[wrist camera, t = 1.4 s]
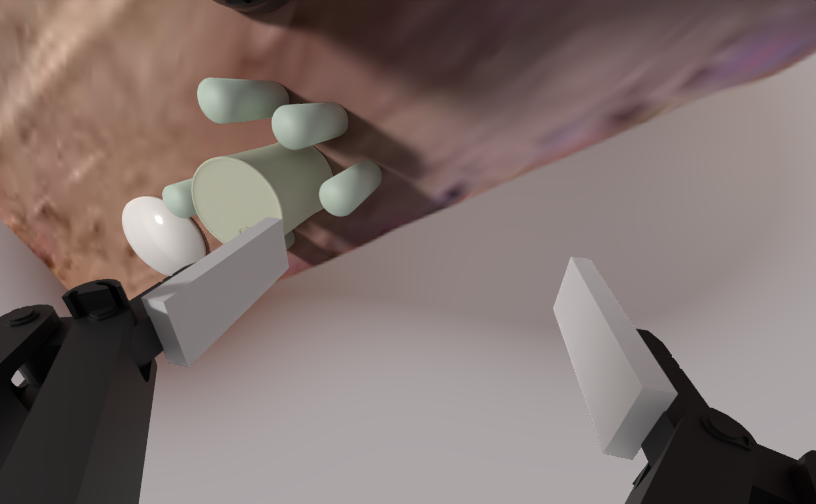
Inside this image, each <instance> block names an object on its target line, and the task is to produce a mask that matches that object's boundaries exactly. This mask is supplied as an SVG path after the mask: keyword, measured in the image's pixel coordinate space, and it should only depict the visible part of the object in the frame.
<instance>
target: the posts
mask: <svg viewBox="0 0 816 504" xmlns="http://www.w3.org/2000/svg"><path fill="white" fill-rule="evenodd" d="M197 96H198V102H199V105H200V107H201V109H202V111H203V112H204V114H205V115H206V116H207V117H208V118H209V119H210V120H212V121H214V122H216V123H219V124H226V123H234V122H242V121H251V120H259V119H267V118H272V129H273V132H274V135H275V137H276V138H277V140H278V141H279V142H280V143H281V144H282V145H283V146H285V147H286V148H289V149H292V150H298V149H302V148H305V147H308V146H311V145H314V144H317V143H321V142H324V141H327V140H330V139H333V138H336V137H339V136H342V135H343V134H344V133H345V132H346V130H347V128H348V123H349V122H348V116H347V113H346V111H345V110H344V108H343V107H342V106H341V105H339V104H337V103H334V102H325V103H309V104H293V105H290V100H289V96H288V93H287V91H286V90H285V88H284V87H283V86H282V85H281V84H279V83H277V82H274V81H259V80H242V79H224V78H206V79H204V80H203V81H202V82H201V83H200V85H199V87H198V92H197ZM192 181H193V178H192V179H189V180H185V181H182V182H178V183H175V184H172V185H169V186H166V187H165V188H164V190H163V193H162V197H163V201H164V203H165V205H166V207H167V208H168V210H169V211H170V212H171V213H172V214H174V215H175V216H177V217H179V218H183V219H186V218H190V217H192V216H194V215H197V212H196V209H195V207H194V204H193V200H192V192H191V188H192ZM381 181H382V172H381V170H380V168H379V166H378V165H377V164H376V163H374V162H373V161H370V160H362V161H360V162H358V163H356V164H354V165H353V166H351V167H349V168H347V169H346V170H344V171H342V172H341V173H339V174H337V175H335V176H334V177H332V178H330V179H329V180H327V181H325V182H324V183H323V184H322V186H321V188H320V191H319V197H320V201H321V204H322V205H323V207H324V208H325V209H326V210H327V211H328V212H329V213H331V214H332V215H335V216H346V215H349V214H350V213H351V212H352V211H353V210H355V209H356V208H357V207H358V206H359V205H360V204H361V203H362V202H363V201H364V200H365V199H366V198H367V197H368V196H369V195H370V194H371V193H372V192H373V191H375V190H376V189H377V188H378V187H379V185H380V184H381ZM284 238H285V245H286V250H287V249H289V248H290V247H291V246H292V245H293V244H294V242H295V235H294V232H293V231H292V230H291V231H290V232H289V233H287V234H286V235H285V236H284Z"/></svg>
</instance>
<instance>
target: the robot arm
mask: <svg viewBox="0 0 816 504" xmlns="http://www.w3.org/2000/svg"><path fill="white" fill-rule="evenodd" d="M213 1H215V2H217V3H219V4H221V5H224V6H226V7H229V8H232V9H235V10H238V11H241V12H245V13H253V14H256V13H266V12H270V11H273V10H275V9H277V8H279V7H281V6H283V5H284V4H285V3H287V2H288V1H289V0H213ZM288 268H289V266H288V259H287V252H286V245H285V238H284V232H283V225H282V219H279V218H271V217H266V218H264V219H263V220H261V221H260V222H258V223H257V224H255V225H254V226H252V227H250V228H249V229H247V230H246V231H244V232H243V233H241V234H239V235H238V236H236V237H235V238H233V239H232V240H230V241H229V242H227V243H225V244H224V245H222V246H221V247H219V248H218V249H216V250H215V251H213V252H211V253H210V254H208V255H207V256H205V257H204V258H202V259H201V260H199V261H197V262H195V263H192V264H190V265H187V266H185V267H183V268H181V269H179V270H178V271H176V272H175V273H173V274H172V276H168V277H167V278H165V279H163V280H162V282H159V283H157V284H156V285H154V286H152V287H151V288H149V289H148V290H146V291H144V292H143V293H141V294H140V295H138V296H136V297H135V298H133V299H132V300H130V301H129V300H128V298H127V296H126V294H125V292H124V289H123V287H122V285H121V283H120V282H119V281H117V280H114V279H103V280H96V281H92V282H88V283H84V284H82V285H79V286H77V287H75V288H73V289H71V290H69V291H68V292H66V293H65V294H64V295H63V297H62V299H63V300H64V302H65V304H66V306H67V307H68V309H69V311H70V313H71V314H72V316H73V317H61V318H60V317H59V316H58V315H57V313H56V311H55V310H54V308H53V306H49V305H33V306H26V307H22V308H21V309H20V308H18V309H15V310H13V311H11V312H10V313H7V314H5V315H3V316H1V317H0V504H139V497H140V489H141V481H142V475H143V467H144V460H145V452H146V445H147V438H148V430H149V423H150V416H151V409H152V401H153V394H154V386H155V379H156V371H157V363H156V361H155V357H156V356H157V355H158V354H160V353H161V352H162V351H164V353H165V356H166V358H167V361H168V363H169V364H174V365H179V366H184V367H190V366H191V365H192V364H193V363H194V362H195V361H196V360H197V359H198V358H199V357H200V356H201V355H202V354H203V353H204V352H205V351H206V350H207V349H208V348H209V347H210V346H211V345H212V344H213V343H214V342H215V341H216V340H217V339H218V338H219V337H220V336H221V335H222V334H223V333H224V332H225V331H226V330H227V329H228V328H229V327H230V326H231V325H232V324H233V323H234V322H235V321H236V320H237V319H238V318H239V317H240V316H241V315H242V314H243V313H244V312H245V311H246V310H247V309H248V308H249V307H250V306H251V305H252V304H253V303H254V302H255V301H256V300H257V299H258V298H259V297H260V296H261V295H262V294H263V293H264V292H265V291H266V290H267V289H268V288H269V287H270V286H271V285H272V284H273V283H274V282H275V281H276V280H277V279H278V278H279V277H280V276H281V275H282V274H283V273H284V272H285V271H286V270H287V269H288ZM553 309H554V312H555V315H556V318H557V321H558V324H559V327H560V330H561V333H562V336H563V339H564V341H565V344H566V347H567V350H568V353H569V356H570V359H571V362H572V365H573V368H574V371H575V374H576V376H577V379H578V382H579V385H580V388H581V391H582V394H583V397H584V399H585V402H586V405H587V408H588V411H589V414H590V417H591V420H592V423H593V426H594V429H595V432H596V434H597V437H598V440H599V443H600V446H601V449H602V452H603V454H607V455H612V456H616V457H621V458H626V459H631V460H633V458H634V457H635V455H636V454H637V453H638V451H639V450H640V448H641V447H642V449H643V451H644V453H645V456H646V458H647V460H648V463H647V465H646V466H645V467H644V469H643V470H642V471H641V473H640V474H639V475H638V477H637V478H636V480H635V481H634V482H633V485H634V487H633V489H632V491H631V493H630V495H629V497H628V499H627V501H626V502H625V504H816V451H814V450H811V451H809V452H807V453H806V454H804V455H803V456H802V457H801V458H800V459H799V460H796V459H793V458H791V457H788V456H786V455H783V454H781V453H779V452H776V451H774V450H771V449H769V448H766V447H764V446H761V445H759V444H757V443H756V441H755V440H754V438H753V437H752V435H751V434H750V433H749V432H748V431H747V430H746V429H745V428H744V427H743V426H742V425H741V424H740V423H738V422H737V421H735V420H734V419H732V418H731V417H729V416H728V415H726V414H724V413H722V412H720V411H718V410H716V409H714V408H710V407H709V406H708V405H707V403H706V402H705V401H704V399H703V398H702V397H701V395H700V394H699V392H698V391H697V389H696V388H695V387H694V385H693V384H692V383H691V381H690V380H689V378H688V377H687V376H686V374H685V373H684V371H683V370H682V369H680V368H679V365H678V363H677V362H676V361H675V359H674V358H672V355H671V354H670V352H669V351H668V349H667V348H666V346H665V345H664V344H663V342H661V341H660V340H659V339H658V338H656V337H655V336H654V335H653V334H652V333H650V332H649V331H647V330H641V329H635V327H634V326H633V324H632V323H631V321H630V319H629V318H628V316H627V315H626V313H625V312H624V310H623V309H622V307H621V306H620V304H619V303H618V301H617V300H616V298H615V296H614V295H613V293H612V292H611V290H610V289H609V287H608V286H607V284H606V283H605V281H604V280H603V278H602V277H601V275H600V273H599V272H598V271H597V269H596V267H595V266H594V264H593V263H592V261H591V260H590V259H584V258H576V257H571V258H570V261H569V264H568V267H567V270H566V273H565V276H564V279H563V281H562V284H561V287H560V290H559V293H558V296H557V299H556V302H555V305H554V308H553ZM17 370H19V371H20V373H21V374H22V376H23V377H24V378H25V380H24V381H23V382H22V383H21V384H20V385H19V386H18V387H17V386H15V385H14V384H13V383H12V381H11V378H12V377H13V375H14V374H15V372H16V371H17Z"/></svg>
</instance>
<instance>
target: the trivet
mask: <svg viewBox="0 0 816 504" xmlns="http://www.w3.org/2000/svg"><path fill="white" fill-rule="evenodd" d="M122 223H123V229H124V232H125V235H126V237H127V239H128V241H129V243H130V245H131V247H132V248H133V249H134V251H135V252H136V253H137V254H138V256H139V257H140V258H141V259H142V260H143V261H144V262H146V263H147V264H148V265H149V266H151V267H152V268H153V269H155V270H157V271H158V272H160V273H162V274H165V275H167V276H172V274H173V273H175V272H176V271H178V270H179V269H181V268H183V267H185V266H187V265H190V264H192V263H195V262H197V261H199V260H201V259H202V258H204V257H205V256H206V246H205V242H204V239H203V237H202V235H201V233H200V231H199V229H198V227H197V226H196V224H195V223H194V222H193V220H192V219H191V218H186V219H183V218H179V217H177V216H175V215H174V214H172V213H171V212H170V211H169V210H168V208H167V207H166V205H165V203H164V201H163V198H159V197H156V196H142V197H138V198H136V199H133V200H131V201H130V202H129V203H128V204H127V205H126V207H125V208H124V211H123V215H122Z"/></svg>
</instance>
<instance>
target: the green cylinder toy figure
mask: <svg viewBox="0 0 816 504" xmlns="http://www.w3.org/2000/svg"><path fill="white" fill-rule="evenodd" d="M332 177H333V174H332V171H331V168H330V166H329V164H328V162H327V160H326V159H325V157H324V156H323V155H322V154H321V153H320V152H319V151H318V150H317V149H316V148H315V147H313V146H312V145H311V146H308V147H305V148H302V149H298V150H292V149H289V148H286V147H285V146H283V145H282V144H281V143H280V142H277V143H275V144H273V145H269V146H265V147H261V148H257V149H253V150H249V151H245V152H241V153H237V154H232V155H227V156H220V157H215V158H211V159H209V160H207V161H205V162H204V163H203V164H201V165H200V167H199V168H198V169H197V170H196V172H195V174H194V177H193V181H192V188H191V192H192V200H193V204H194V207H195V209H196V212H197V214H198V216H199V218H200V220H201V221H202V223H203V224H204V226H205V227H206V228H207V229H208V230H209V232H210V233H211V234H212V235H213V236H215V237H216V238H217V239H218V240H219V241H221V242H222V243H224V244H225V243H227V242H229V241H230V240H232V239H233V238H235V237H236V236H238V235H239V234H241V233H243V232H244V231H246V230H247V229H249V228H250V227H252V226H254V225H255V224H257V223H258V222H260V221H261V220H263V219H264V218H266V217H271V218H279V219H282V225H283V232H284V236H285V235H286V234H287V233H289V232H290V231H291V230H293V229H294V228H295V227H297V226H298V225H299V224H301V223H302V222H303V221H305V220H306V219H307V218H309V217H310V216H312V215H313V214H314V213H317V212H319V211H321V210H322V209H323V208H324V207H323V205H322V204H321V201H320V197H319V191H320V188H321V186H322V184H323V183H324V182H325V181H327V180H329V179H330V178H332Z"/></svg>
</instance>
